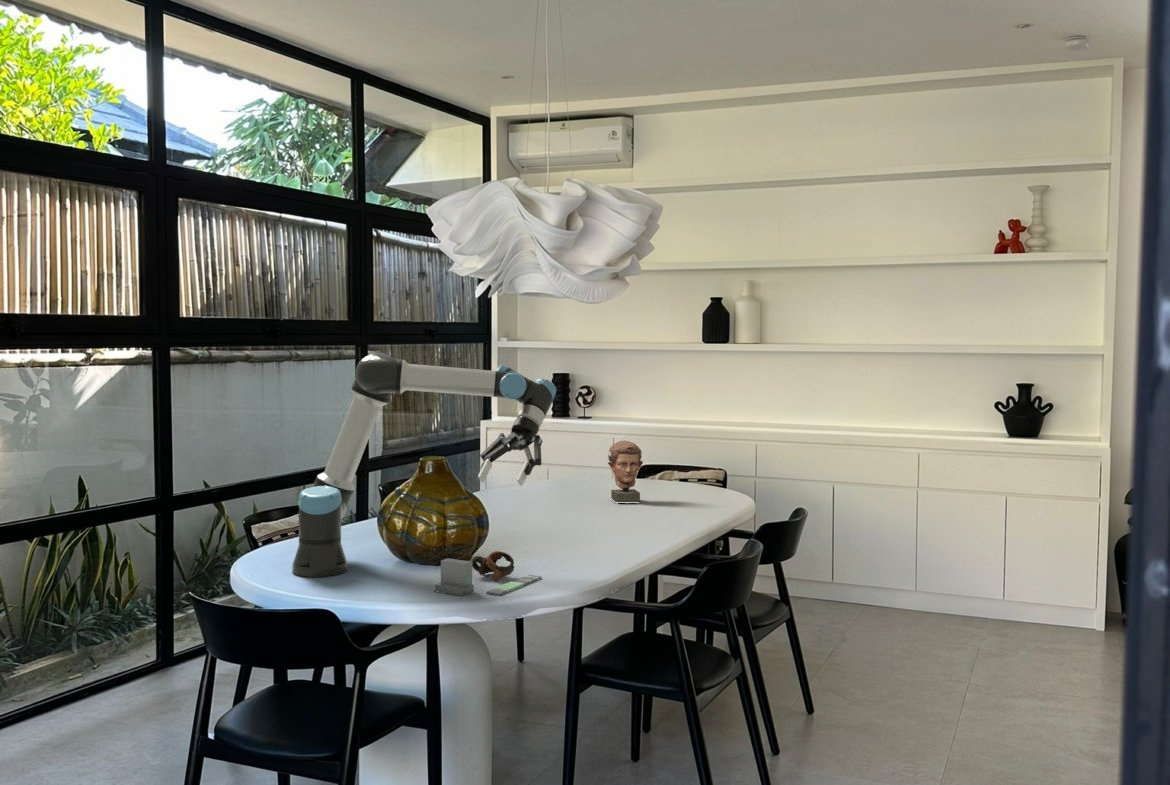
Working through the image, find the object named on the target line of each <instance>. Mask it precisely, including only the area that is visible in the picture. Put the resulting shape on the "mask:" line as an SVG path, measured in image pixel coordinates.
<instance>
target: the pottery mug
mask: <svg viewBox="0 0 1170 785" xmlns="http://www.w3.org/2000/svg"><path fill="white" fill-rule="evenodd" d="M502 557H503V558H504V559H505V561H507V562H510V564H509V565H507V566H499V565H497V564H496V563H497V562H498V561H499V560H501V559H502ZM470 562H472V569H474V570H475V572H478V574H479V575H480V576H484V575H485V574H489V573H493V576H492V578H491V579H492V580H493V581H494V582H498V581H499V580H500V578H501V579H502V578H506V577H507V576H510V575H512V574H513V573H512V572H514V569H515V566H514V564H515V560H514V559H513V557H512V556H511V555H510V554H508V553H507V552H503V551H499V550H498V551H497V550H496V551H492V552H491V553H489V554H488V555H487V556H486V557H484V556H483V557H482V556H480V555H478V556H477V555H476V556H474V557H473V558H472V559H471V561H470ZM478 563H479V565H478Z"/></svg>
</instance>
